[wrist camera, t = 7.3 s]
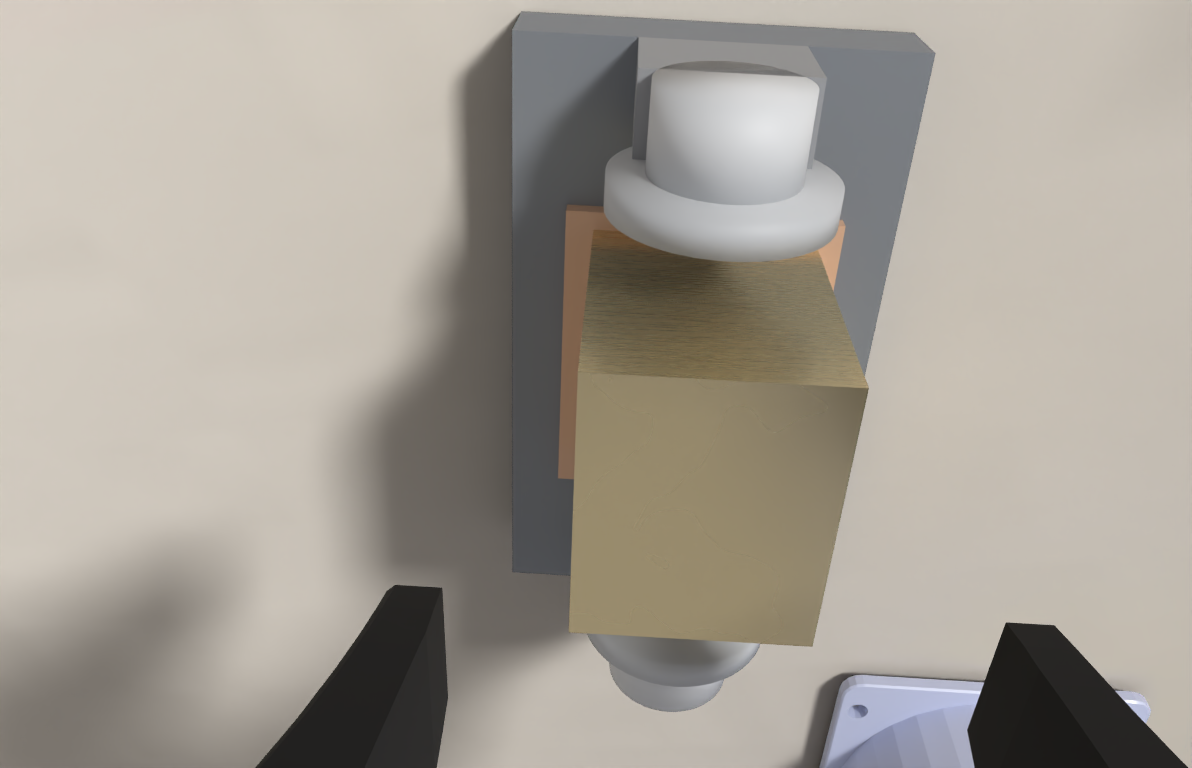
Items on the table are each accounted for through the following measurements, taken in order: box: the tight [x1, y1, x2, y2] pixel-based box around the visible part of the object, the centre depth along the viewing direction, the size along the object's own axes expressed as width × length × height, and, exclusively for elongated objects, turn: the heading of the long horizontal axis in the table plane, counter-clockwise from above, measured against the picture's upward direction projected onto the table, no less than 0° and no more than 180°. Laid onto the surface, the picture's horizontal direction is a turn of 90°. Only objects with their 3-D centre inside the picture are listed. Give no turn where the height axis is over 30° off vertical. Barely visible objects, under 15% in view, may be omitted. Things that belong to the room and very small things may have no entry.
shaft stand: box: [512, 11, 935, 712], centre depth 18 cm, size 12×7×6 cm, turn 177°
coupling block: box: [569, 230, 869, 647], centre depth 17 cm, size 5×4×5 cm
